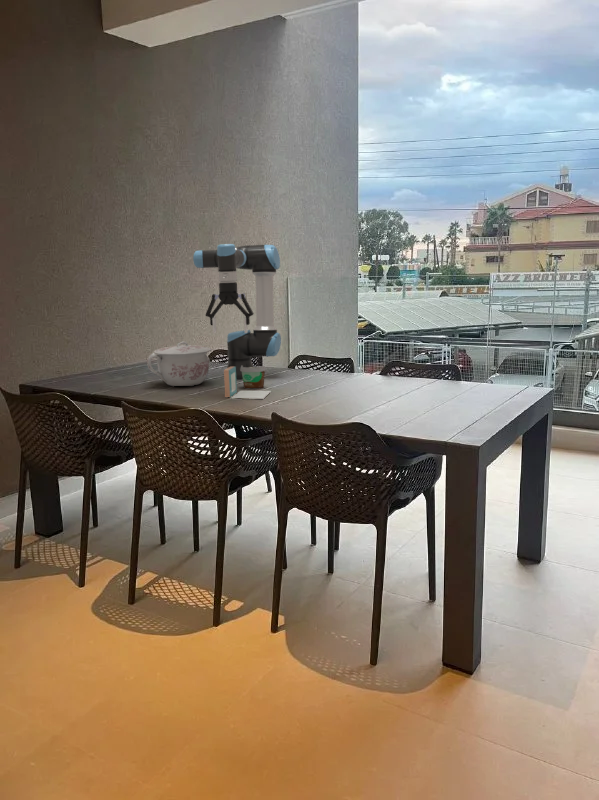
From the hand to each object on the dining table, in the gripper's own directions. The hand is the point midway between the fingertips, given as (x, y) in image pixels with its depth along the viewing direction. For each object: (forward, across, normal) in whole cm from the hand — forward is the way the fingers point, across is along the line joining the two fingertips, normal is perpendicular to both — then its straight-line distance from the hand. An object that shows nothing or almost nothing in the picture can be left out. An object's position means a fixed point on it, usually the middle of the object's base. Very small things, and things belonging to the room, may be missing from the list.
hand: (230, 333), depth 273 cm
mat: (+27, +8, 0) cm, 28 cm away
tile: (+27, -1, 0) cm, 27 cm away
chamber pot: (+28, -30, +26) cm, 48 cm away
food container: (+28, +4, +17) cm, 33 cm away
